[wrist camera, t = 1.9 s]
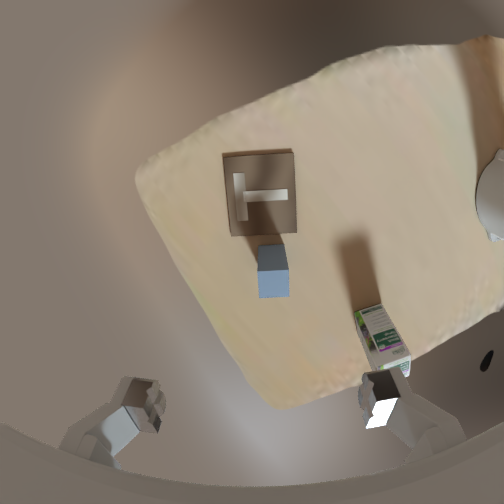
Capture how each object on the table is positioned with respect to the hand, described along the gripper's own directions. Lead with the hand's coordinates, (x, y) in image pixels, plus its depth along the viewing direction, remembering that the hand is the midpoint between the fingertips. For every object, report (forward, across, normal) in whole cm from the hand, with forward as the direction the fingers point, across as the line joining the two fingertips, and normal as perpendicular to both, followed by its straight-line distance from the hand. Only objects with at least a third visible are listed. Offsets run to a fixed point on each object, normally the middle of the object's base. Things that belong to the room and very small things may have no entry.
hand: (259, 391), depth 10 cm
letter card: (+35, 0, -1) cm, 35 cm away
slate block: (+35, -1, +9) cm, 36 cm away
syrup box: (+35, -19, +23) cm, 46 cm away
